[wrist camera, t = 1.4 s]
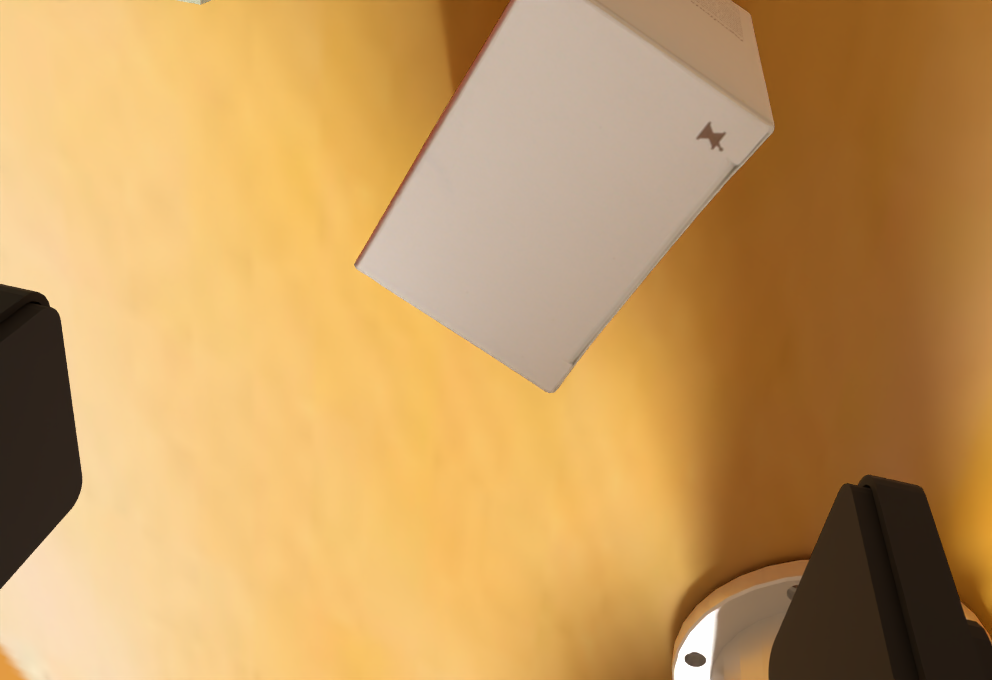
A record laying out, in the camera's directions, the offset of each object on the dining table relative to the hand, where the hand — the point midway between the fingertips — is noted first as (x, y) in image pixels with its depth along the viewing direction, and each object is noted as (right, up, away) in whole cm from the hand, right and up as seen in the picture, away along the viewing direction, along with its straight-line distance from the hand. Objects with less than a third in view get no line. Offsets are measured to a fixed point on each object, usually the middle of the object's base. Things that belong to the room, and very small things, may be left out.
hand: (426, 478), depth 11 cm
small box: (+4, +10, +17) cm, 20 cm away
